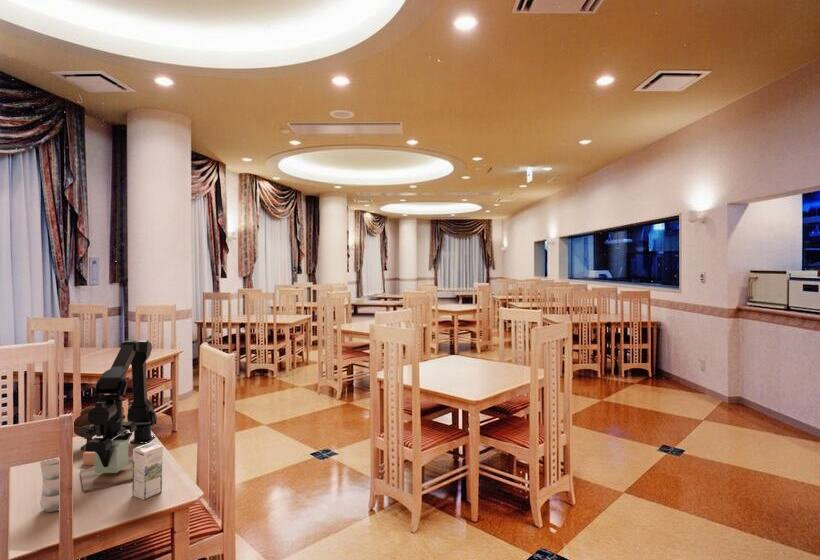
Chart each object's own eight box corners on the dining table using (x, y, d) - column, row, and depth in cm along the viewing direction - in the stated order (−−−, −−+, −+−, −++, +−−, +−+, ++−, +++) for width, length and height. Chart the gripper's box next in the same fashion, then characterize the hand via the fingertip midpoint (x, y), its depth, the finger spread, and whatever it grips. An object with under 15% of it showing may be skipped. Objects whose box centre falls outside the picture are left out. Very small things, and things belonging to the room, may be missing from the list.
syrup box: (150, 487, 142) (150, 441, 141) (162, 492, 139) (162, 445, 139) (132, 495, 137) (132, 447, 136) (144, 501, 134) (144, 451, 134)
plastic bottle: (58, 515, 126) (57, 443, 125) (33, 514, 126) (33, 442, 125) (75, 503, 132) (75, 434, 131) (52, 502, 132) (52, 433, 131)
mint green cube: (107, 463, 152) (107, 439, 152) (128, 463, 152) (128, 439, 152) (94, 472, 146) (94, 447, 145) (116, 472, 146) (116, 448, 146)
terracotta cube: (90, 459, 160) (90, 448, 160) (102, 459, 160) (102, 448, 160) (83, 464, 156) (82, 453, 156) (95, 464, 156) (95, 453, 156)
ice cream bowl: (64, 449, 167) (64, 409, 167) (97, 439, 177) (97, 401, 177) (80, 456, 162) (80, 414, 162) (113, 445, 172) (113, 405, 172)
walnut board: (80, 472, 150) (80, 470, 150) (136, 460, 160) (136, 458, 160) (83, 492, 138) (83, 490, 138) (144, 478, 148) (144, 475, 148)
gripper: (103, 405, 157) (103, 450, 158) (65, 424, 138) (66, 475, 139) (137, 405, 158) (137, 450, 158) (104, 424, 139) (104, 475, 140)
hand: (112, 462), depth 149 cm, fingers closed on mint green cube, 7 cm apart
